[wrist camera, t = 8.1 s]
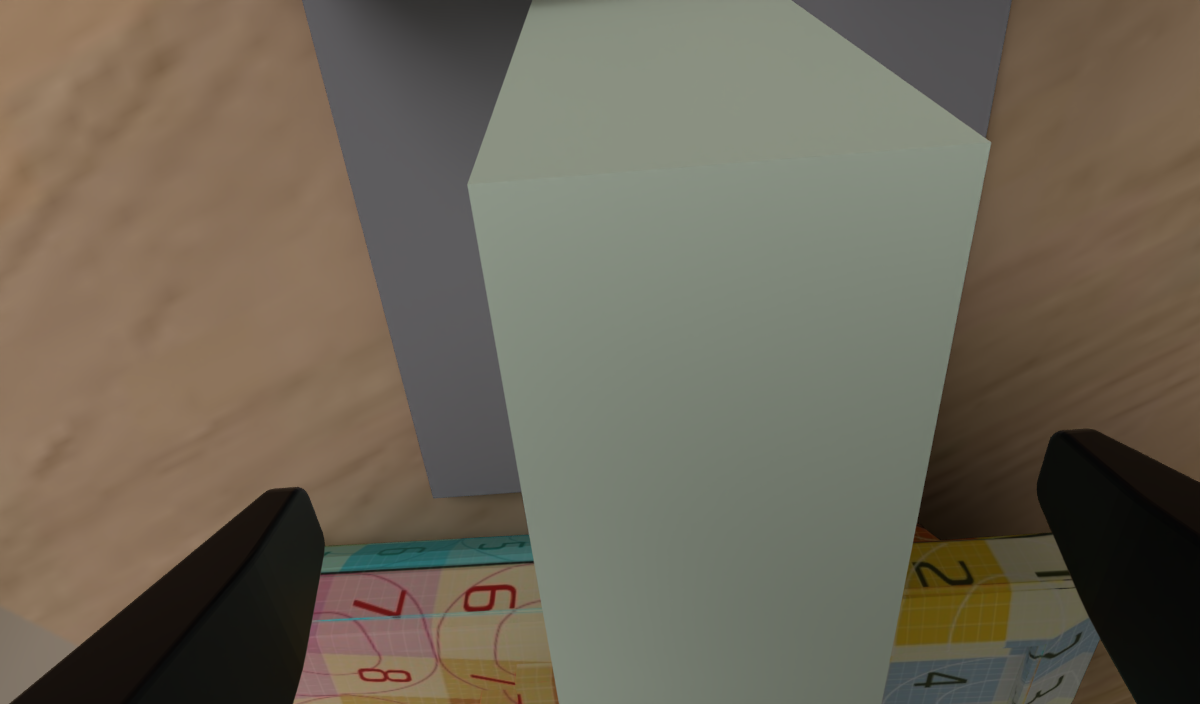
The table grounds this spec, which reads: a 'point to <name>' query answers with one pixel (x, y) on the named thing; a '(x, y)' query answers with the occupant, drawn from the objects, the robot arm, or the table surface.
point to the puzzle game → (521, 651)
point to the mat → (450, 148)
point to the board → (719, 340)
